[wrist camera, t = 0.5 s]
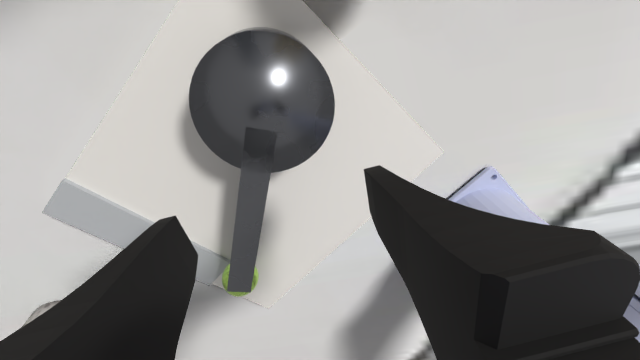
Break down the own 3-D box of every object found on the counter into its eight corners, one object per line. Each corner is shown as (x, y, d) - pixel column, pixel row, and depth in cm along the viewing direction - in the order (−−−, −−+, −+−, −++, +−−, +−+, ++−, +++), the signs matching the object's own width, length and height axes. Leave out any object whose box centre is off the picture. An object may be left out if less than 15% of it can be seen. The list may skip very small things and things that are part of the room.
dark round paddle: (204, 11, 15) (190, 12, 12) (338, 44, 16) (351, 51, 14) (194, 270, 23) (184, 303, 20) (284, 274, 25) (285, 306, 22)
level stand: (434, 143, 22) (447, 154, 21) (268, 295, 28) (268, 312, 26) (232, -72, 15) (227, -82, 13) (59, 197, 20) (40, 213, 19)
